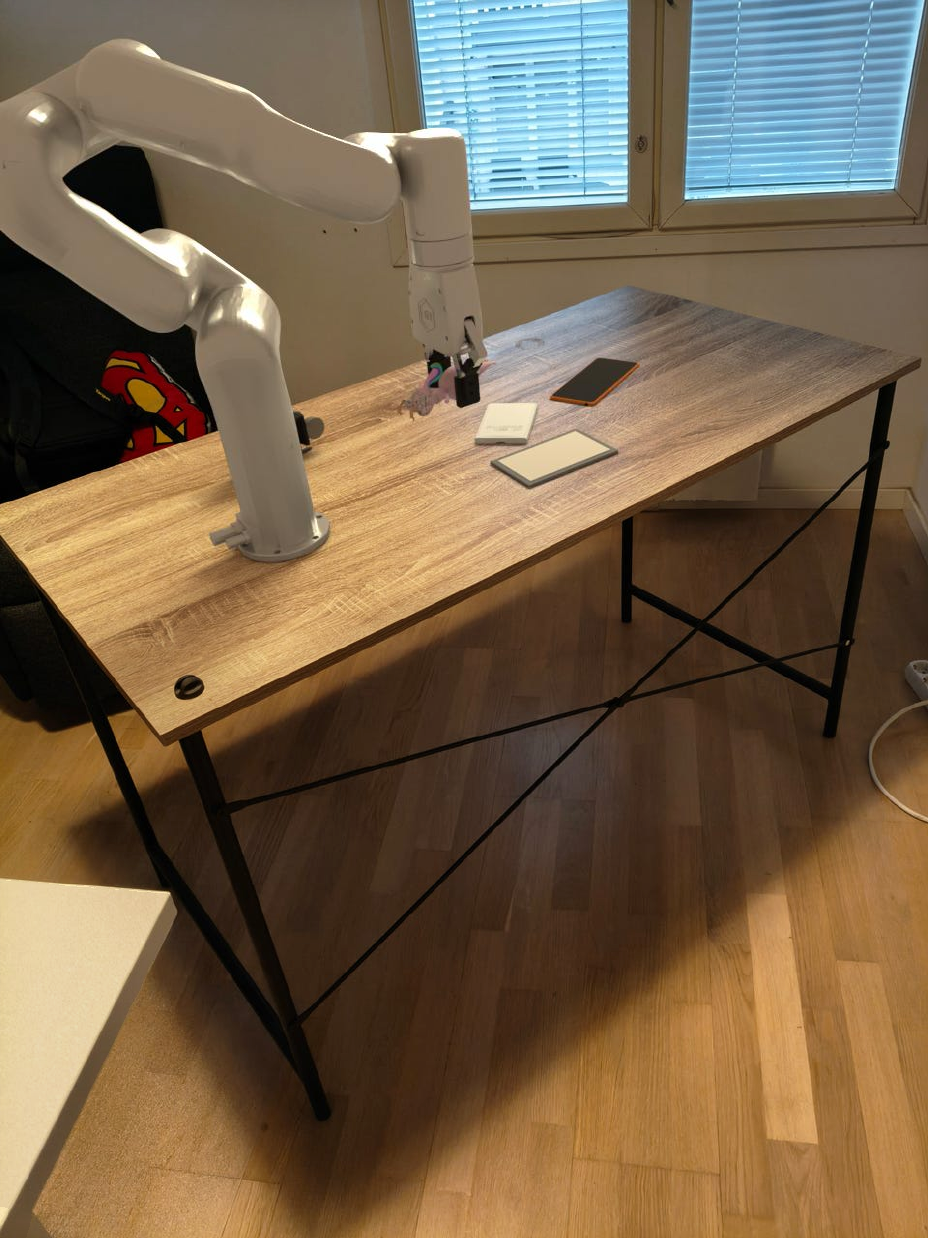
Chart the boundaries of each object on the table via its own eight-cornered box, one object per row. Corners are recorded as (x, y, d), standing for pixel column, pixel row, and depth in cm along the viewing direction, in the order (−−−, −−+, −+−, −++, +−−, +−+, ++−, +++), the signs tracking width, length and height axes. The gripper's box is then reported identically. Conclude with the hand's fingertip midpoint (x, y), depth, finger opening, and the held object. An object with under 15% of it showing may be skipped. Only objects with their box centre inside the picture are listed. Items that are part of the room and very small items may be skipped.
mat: (529, 487, 134) (529, 484, 134) (490, 463, 141) (490, 460, 141) (618, 452, 140) (618, 449, 140) (576, 430, 147) (576, 427, 147)
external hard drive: (538, 411, 156) (527, 446, 146) (488, 412, 158) (474, 446, 148) (537, 402, 155) (526, 436, 145) (488, 403, 157) (474, 437, 147)
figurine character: (300, 445, 156) (225, 474, 147) (295, 400, 152) (218, 426, 143) (328, 455, 153) (254, 485, 143) (324, 408, 149) (247, 436, 139)
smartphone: (640, 366, 166) (640, 361, 166) (593, 409, 154) (593, 403, 154) (596, 360, 170) (596, 355, 170) (547, 401, 158) (547, 395, 158)
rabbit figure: (424, 436, 116) (510, 378, 122) (412, 393, 112) (502, 335, 118) (392, 422, 120) (478, 367, 126) (380, 380, 116) (469, 325, 122)
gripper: (377, 242, 115) (396, 384, 125) (452, 272, 102) (465, 427, 113) (431, 229, 117) (445, 369, 128) (509, 256, 105) (517, 409, 116)
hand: (454, 395), depth 120 cm, fingers closed on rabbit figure, 5 cm apart
